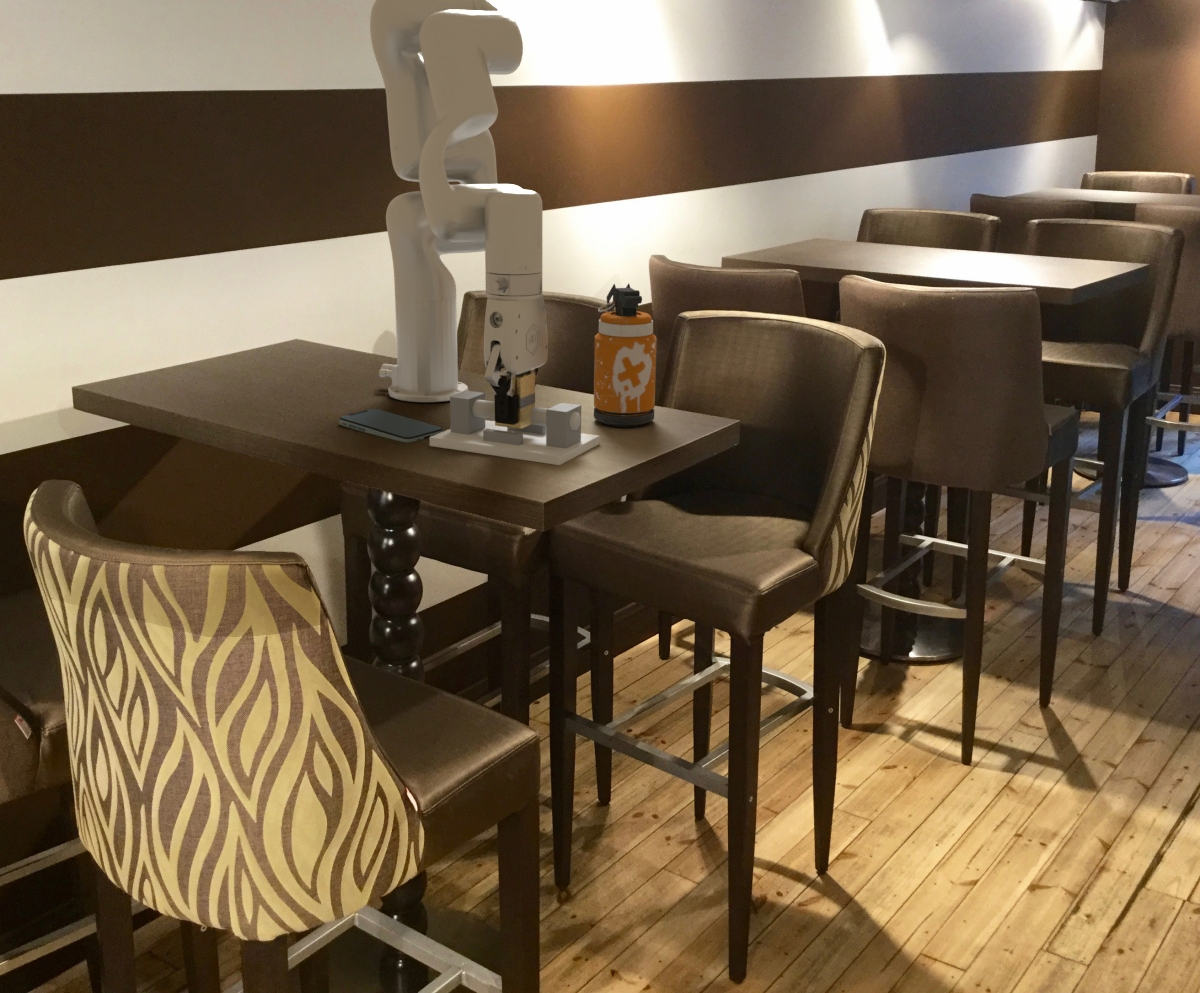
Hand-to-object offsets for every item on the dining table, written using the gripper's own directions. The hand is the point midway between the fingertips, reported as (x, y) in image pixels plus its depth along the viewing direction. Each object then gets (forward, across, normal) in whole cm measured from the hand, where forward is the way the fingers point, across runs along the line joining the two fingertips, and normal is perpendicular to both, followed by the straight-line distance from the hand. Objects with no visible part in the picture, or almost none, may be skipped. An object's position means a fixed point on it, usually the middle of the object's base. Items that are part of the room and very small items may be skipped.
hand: (514, 418), depth 174 cm
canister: (+4, +20, -7) cm, 22 cm away
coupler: (+1, 0, 0) cm, 1 cm away
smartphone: (+4, -1, +20) cm, 20 cm away
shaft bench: (+4, 0, 0) cm, 4 cm away
